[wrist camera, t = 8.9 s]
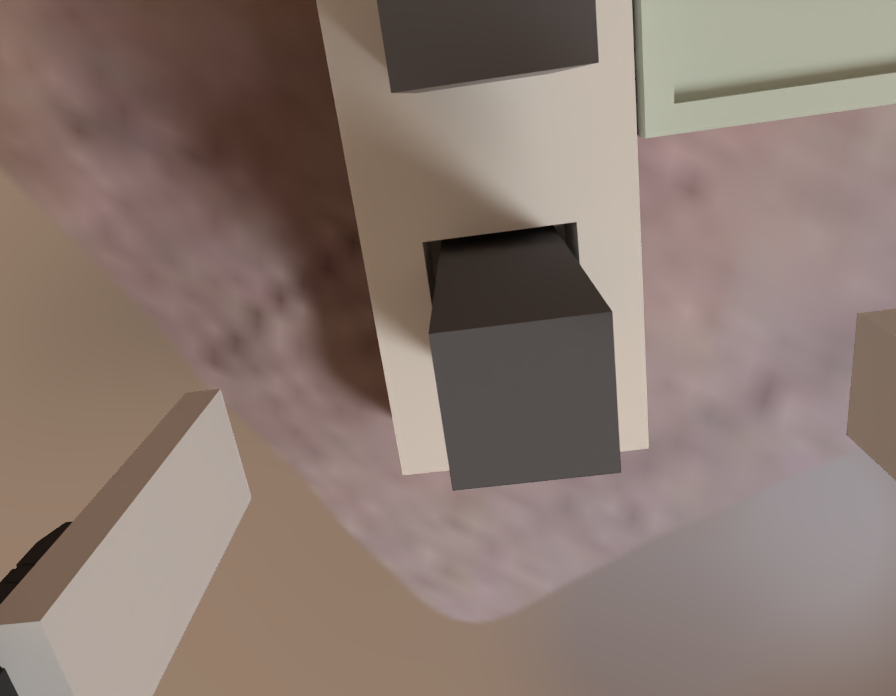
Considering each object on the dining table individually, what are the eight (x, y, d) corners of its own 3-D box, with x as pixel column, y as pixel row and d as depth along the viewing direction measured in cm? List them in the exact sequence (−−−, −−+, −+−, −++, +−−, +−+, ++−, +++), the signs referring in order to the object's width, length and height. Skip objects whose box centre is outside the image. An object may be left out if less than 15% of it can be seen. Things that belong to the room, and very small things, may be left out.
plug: (456, 336, 27) (452, 490, 16) (442, 235, 25) (428, 333, 15) (558, 323, 26) (620, 472, 16) (550, 221, 25) (612, 311, 15)
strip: (315, -125, 22) (165, -347, 11) (594, -173, 21) (737, -459, 10) (410, 425, 29) (378, 631, 18) (623, 401, 28) (728, 599, 17)
